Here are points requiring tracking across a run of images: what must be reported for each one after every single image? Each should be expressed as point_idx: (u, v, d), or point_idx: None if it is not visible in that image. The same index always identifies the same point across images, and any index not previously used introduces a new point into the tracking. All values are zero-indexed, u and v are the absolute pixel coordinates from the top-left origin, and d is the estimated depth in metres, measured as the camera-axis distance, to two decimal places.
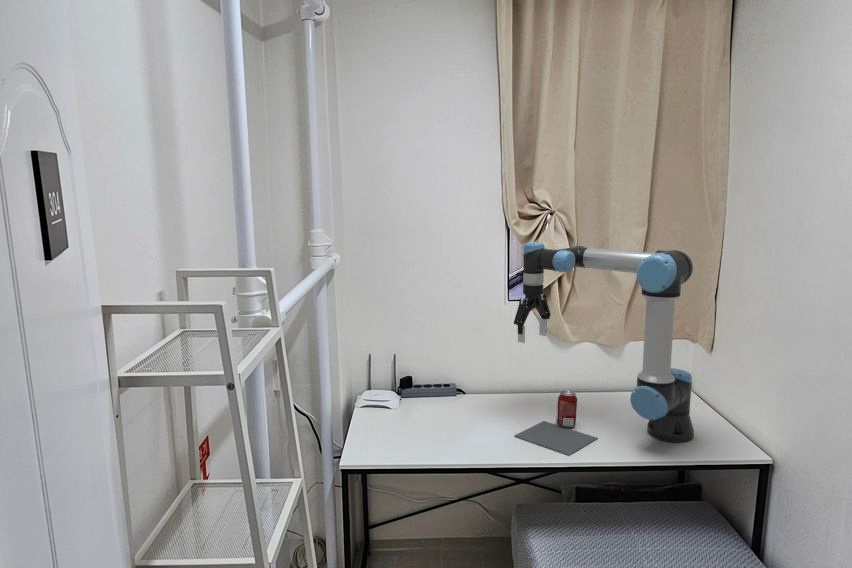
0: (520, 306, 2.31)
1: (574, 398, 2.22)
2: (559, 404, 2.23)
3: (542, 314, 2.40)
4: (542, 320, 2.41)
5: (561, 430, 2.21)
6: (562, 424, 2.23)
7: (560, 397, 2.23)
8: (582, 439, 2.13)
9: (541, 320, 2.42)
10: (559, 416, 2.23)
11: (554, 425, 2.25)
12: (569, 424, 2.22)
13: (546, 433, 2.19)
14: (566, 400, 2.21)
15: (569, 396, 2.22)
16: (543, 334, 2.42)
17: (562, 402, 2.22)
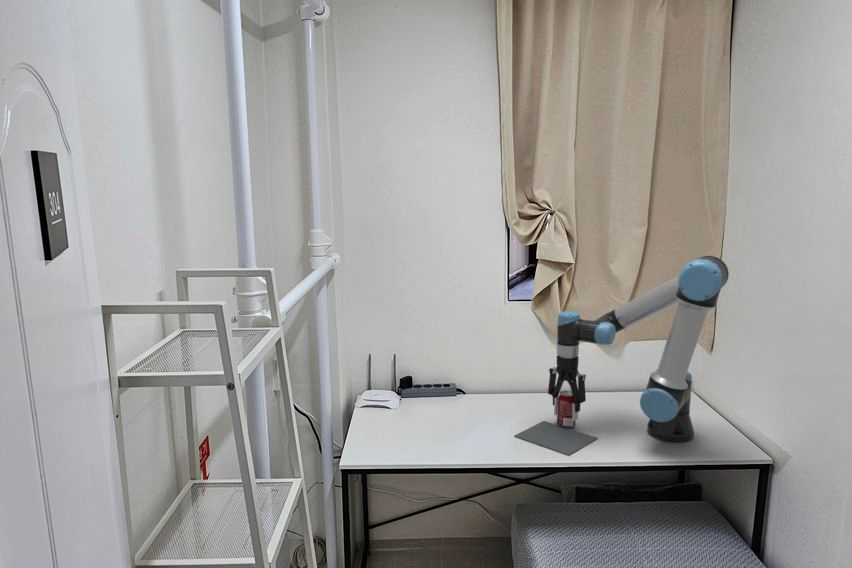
0: None
1: None
2: (559, 404, 2.23)
3: None
4: None
5: (561, 430, 2.21)
6: (562, 424, 2.23)
7: (560, 397, 2.23)
8: (582, 439, 2.13)
9: None
10: (559, 416, 2.23)
11: (554, 425, 2.25)
12: (569, 424, 2.22)
13: (546, 433, 2.19)
14: (566, 400, 2.21)
15: (569, 396, 2.22)
16: None
17: (562, 402, 2.22)
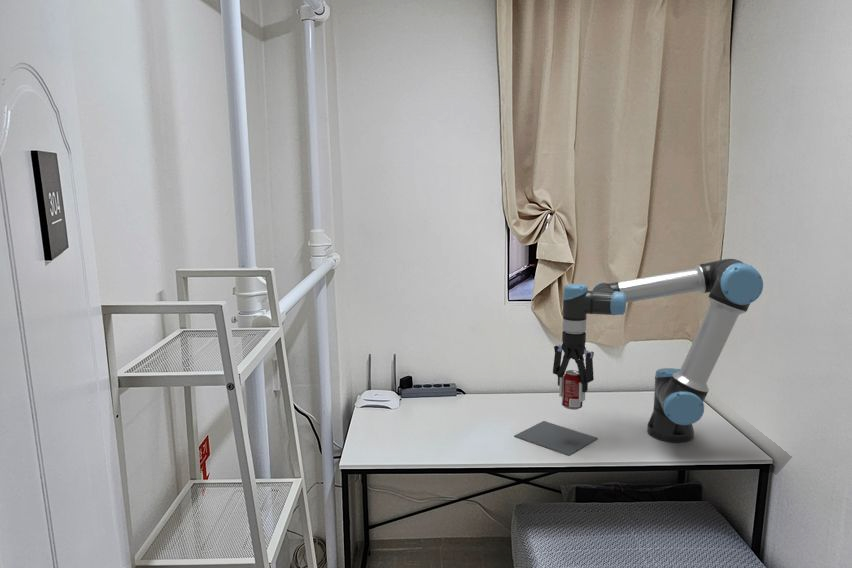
0: None
1: None
2: (565, 384, 2.07)
3: None
4: None
5: (561, 430, 2.21)
6: (568, 405, 2.07)
7: (566, 376, 2.07)
8: (582, 439, 2.13)
9: None
10: (565, 397, 2.07)
11: (554, 425, 2.25)
12: (575, 406, 2.06)
13: (546, 433, 2.19)
14: (573, 379, 2.05)
15: (576, 375, 2.06)
16: None
17: (568, 382, 2.06)
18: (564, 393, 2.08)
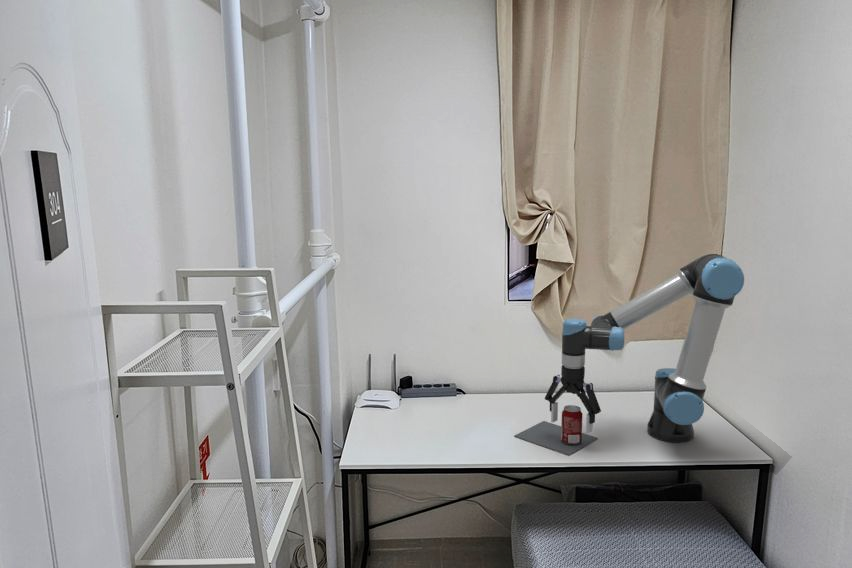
0: None
1: (579, 413, 2.07)
2: (563, 420, 2.09)
3: None
4: None
5: None
6: (567, 441, 2.09)
7: (564, 413, 2.09)
8: (582, 439, 2.13)
9: None
10: (564, 433, 2.09)
11: (554, 425, 2.25)
12: (574, 441, 2.08)
13: (546, 433, 2.19)
14: (571, 416, 2.07)
15: (574, 412, 2.07)
16: None
17: (566, 418, 2.08)
18: (563, 429, 2.09)
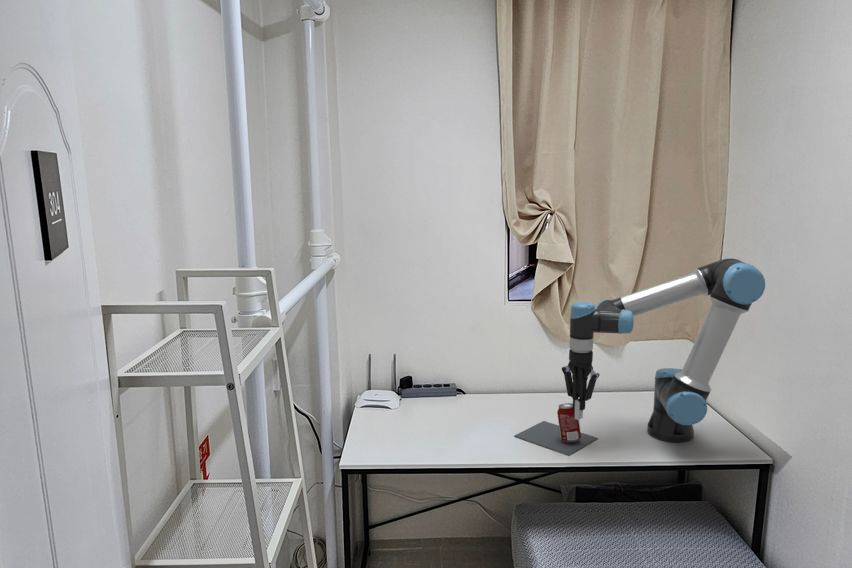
0: None
1: (574, 409, 2.09)
2: (559, 418, 2.10)
3: None
4: None
5: None
6: (566, 439, 2.09)
7: (559, 411, 2.10)
8: (582, 439, 2.13)
9: None
10: (562, 431, 2.10)
11: (554, 425, 2.25)
12: (573, 438, 2.08)
13: (546, 433, 2.19)
14: (566, 413, 2.08)
15: (568, 408, 2.08)
16: None
17: (562, 416, 2.09)
18: (561, 427, 2.10)
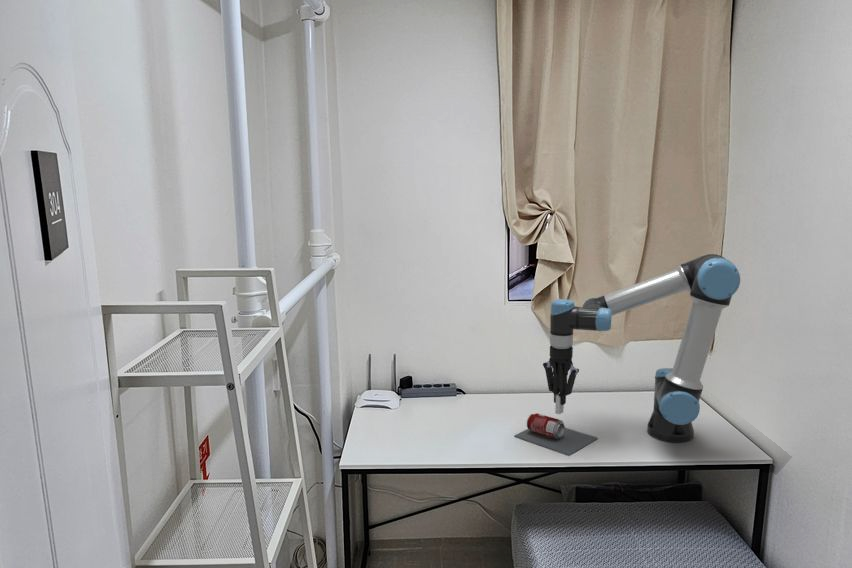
0: None
1: (532, 416, 2.19)
2: (536, 432, 2.17)
3: None
4: None
5: None
6: (552, 433, 2.11)
7: (530, 429, 2.18)
8: (582, 439, 2.13)
9: None
10: (546, 435, 2.14)
11: None
12: (552, 426, 2.11)
13: None
14: (529, 424, 2.17)
15: (528, 420, 2.19)
16: None
17: (532, 429, 2.17)
18: (543, 434, 2.15)
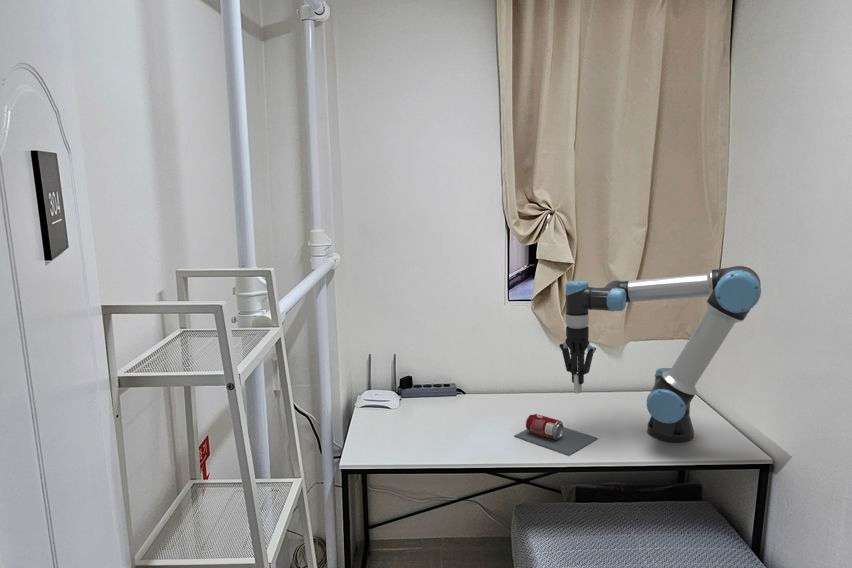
0: None
1: (530, 417, 2.18)
2: (535, 433, 2.17)
3: None
4: None
5: None
6: (551, 435, 2.11)
7: (530, 431, 2.18)
8: (582, 439, 2.13)
9: None
10: (545, 436, 2.13)
11: None
12: (551, 429, 2.11)
13: None
14: (528, 426, 2.17)
15: (526, 422, 2.18)
16: None
17: (532, 431, 2.17)
18: (543, 436, 2.15)
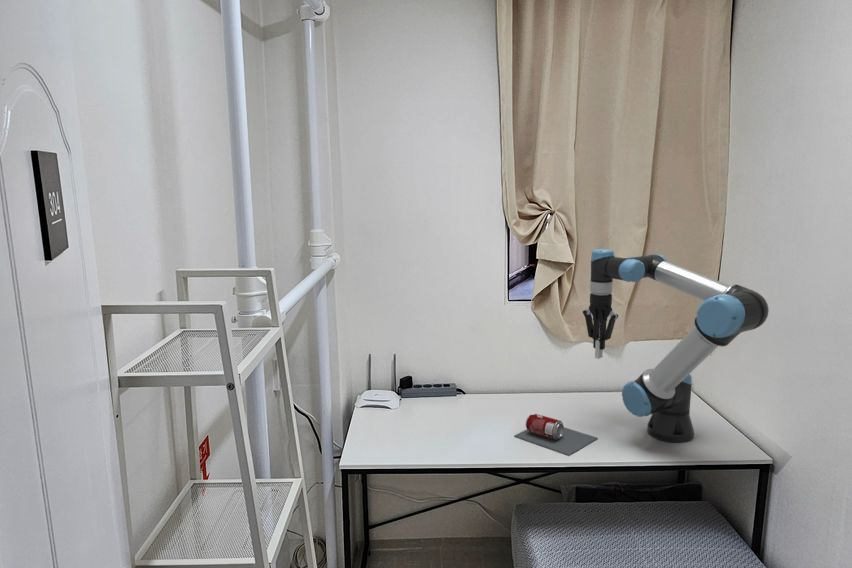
0: None
1: (530, 417, 2.18)
2: (535, 433, 2.17)
3: None
4: None
5: None
6: (551, 435, 2.11)
7: (530, 431, 2.18)
8: (582, 439, 2.13)
9: None
10: (545, 436, 2.13)
11: None
12: (551, 428, 2.11)
13: None
14: (528, 426, 2.17)
15: (526, 422, 2.18)
16: None
17: (532, 431, 2.17)
18: (543, 436, 2.15)
